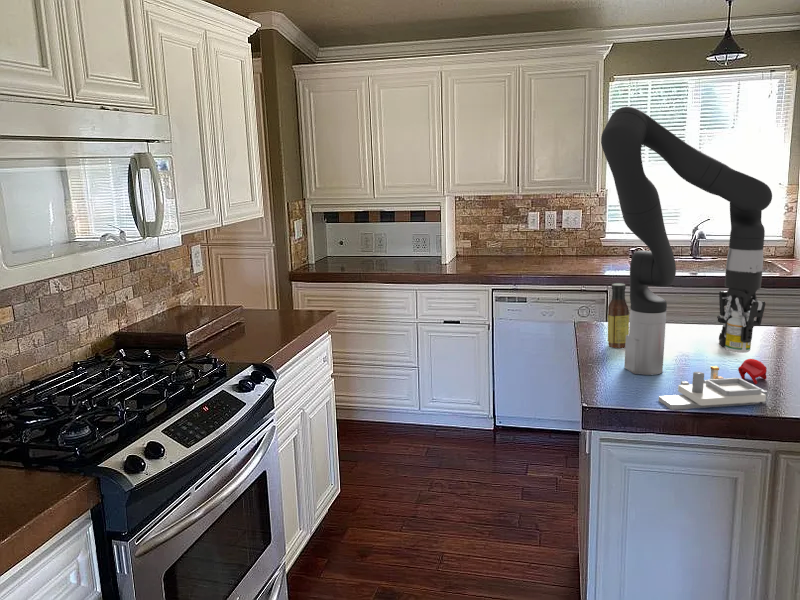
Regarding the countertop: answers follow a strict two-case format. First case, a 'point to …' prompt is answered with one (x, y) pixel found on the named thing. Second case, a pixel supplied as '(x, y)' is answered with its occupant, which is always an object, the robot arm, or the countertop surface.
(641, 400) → the countertop surface
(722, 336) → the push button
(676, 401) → the index track
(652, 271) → the robot arm
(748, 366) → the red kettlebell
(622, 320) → the sauce bottle
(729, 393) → the toothed carriage
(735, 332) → the supplement bottle
